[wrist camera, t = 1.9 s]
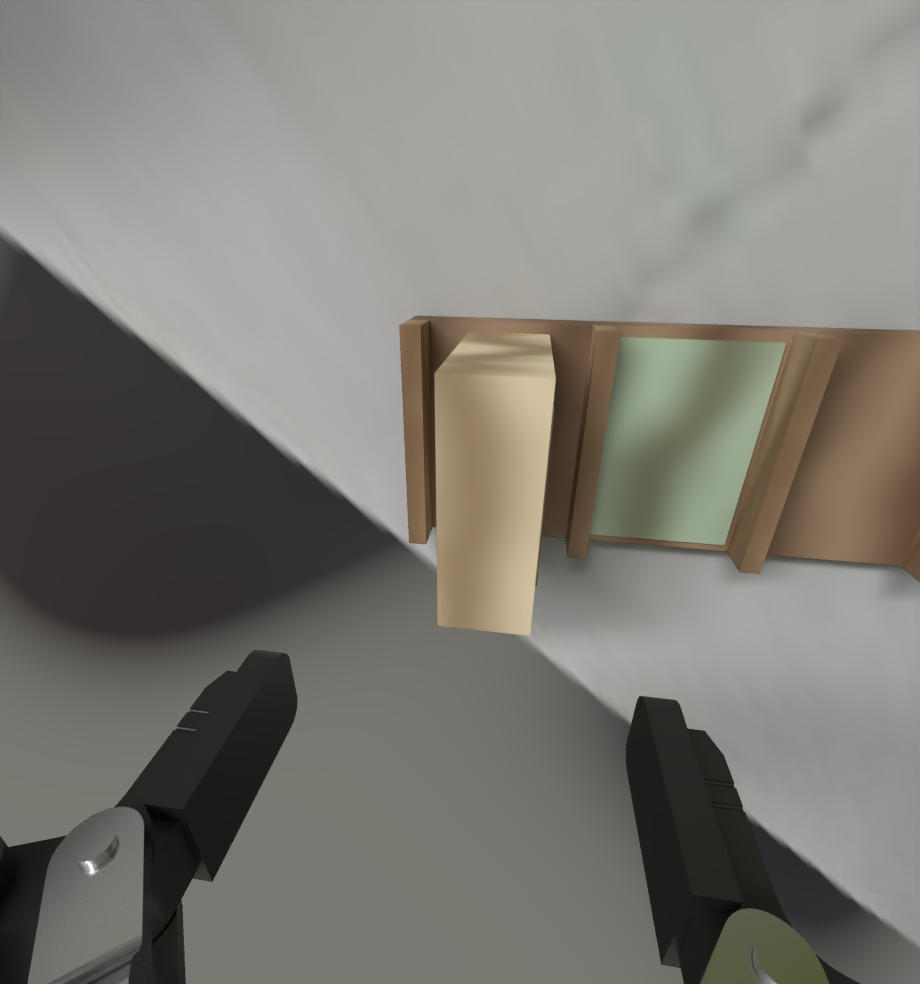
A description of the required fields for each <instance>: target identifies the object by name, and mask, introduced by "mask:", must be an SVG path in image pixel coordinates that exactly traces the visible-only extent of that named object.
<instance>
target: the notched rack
mask: <svg viewBox="0 0 920 984" xmlns="http://www.w3.org/2000/svg"><path fill="white" fill-rule="evenodd" d="M399 327H400V350H401V372H402V395H403V417H404V439H405V462H406V484H407V507H408V529H409V543H416V544H426V543H427V541H428V538H429V535H430V533H431V530H432V527H437V523H436V450H435V378H434V373H435V372H436V371H437V370H438V368H439V367H440V366H441V365H442V364H443V362H444V361H445V360H446V359H447V358H448V356H449V355H450V354H451V353H452V351H453V350H454V349H455V348H456V347H457V345H458V344H459V343H460V342H461V341H462V339H463V338H464V337H465V336H466V335H467V333H468V332H485V333H515V334H546V335H550V340H551V347H552V354H553V362H554V369H555V376H556V382H555V392H554V420H553V430H552V440H551V449H550V459H549V469H548V479H547V489H546V498H545V508H544V518H543V528H542V536H550V537H562V538H566V547H567V557H574V558H586V555H587V548H588V542H589V540H598V541H610V542H622V543H634V544H646V545H658V546H670V547H682V548H693V549H705V550H717V551H727V553H728V554H729V556H730V558H731V559H732V561H733V562H734V564H735V566H736V567H737V569H738V571H739V572H744V573H755V574H760V571H761V568H762V566H763V563H764V560H765V557H766V555H777V556H789V557H801V558H813V559H825V560H837V561H849V562H860V563H872V564H884V565H896V566H902V567H903V568H904V569H905V570H906V571H907V572H908V573H910V574H911V575H912V576H913V577H914V578H915V579H916V580H918V581H919V582H920V331H913V330H879V329H845V328H811V327H777V326H743V325H709V324H675V323H641V322H607V321H573V320H539V319H505V318H471V317H436V316H415V317H413V318H412V319H410V320H408V321H406V322H404V323H403V324H401V325H399Z"/></svg>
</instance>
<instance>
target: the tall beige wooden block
mask: <svg viewBox="0 0 920 984" xmlns="http://www.w3.org/2000/svg"><path fill="white" fill-rule="evenodd" d="M434 378H435V450H436V523H437V595H438V626H447V627H456V628H465V629H474V630H484V631H492V632H502V633H511V634H520V635H529V636H530V631H531V621H532V611H533V601H534V591H535V586H537V577H538V567H539V557H540V547H541V538H542V528H543V518H544V508H545V498H546V489H547V479H548V469H549V459H550V449H551V440H552V430H553V420H554V392H555V382H556V376H555V369H554V362H553V354H552V347H551V340H550V335H546V334H515V333H485V332H468V333H467V335H466V336H465V337H464V338H463V339H462V341H461V342H460V343H459V344H458V345H457V347H456V348H455V349H454V350H453V351H452V353H451V354H450V355H449V356H448V358H447V359H446V360H445V361H444V362H443V364H442V365H441V366H440V367H439V368H438V370H437V371H436V372H435V373H434Z"/></svg>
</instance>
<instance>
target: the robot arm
mask: <svg viewBox="0 0 920 984" xmlns="http://www.w3.org/2000/svg"><path fill="white" fill-rule="evenodd" d="M296 710H297V693H296V689H295V683H294V679H293V674H292V669H291V664H290V659H289V656H288V655H287V654H285V653H278V652H270V651H261V650H255V651H252V652H251V653H250V654H249V655H248V656H247V658H246V659H245V661H244V662H243V663H242V665H241V667H240V668H239V669H238V671H237V672H233V671H226V672H225V673H224V674H222V676H220V677H219V678H217V679H216V680H215V681H213V682H212V683H211V684H210V685H208V686H207V687H206V688H205V689H204V690H203V692H202V693H201V694H200V696H199V697H198V699H197V700H196V701H195V703H194V704H193V705H192V706H191V708H190V712H189V713H186V715H185V716H184V717H183V718H182V720H181V721H180V723H179V724H178V725H177V729H176V730H173V732H172V733H171V734H170V736H169V737H168V738H167V740H166V741H165V743H164V744H163V745H162V746H161V748H160V749H159V750H158V752H157V753H156V754H155V756H154V757H153V758H152V760H151V761H150V762H149V764H148V765H147V766H146V768H145V769H144V770H143V772H142V773H141V775H140V776H139V777H138V778H137V780H136V781H135V782H134V784H133V785H132V787H131V788H130V789H129V790H128V792H127V793H126V795H125V796H124V797H123V798H122V799H121V800H120V802H119V803H118V804H117V805H116V806H115V807H114V808H110V809H107V810H104V811H101V812H99V813H97V814H95V815H93V816H91V817H89V818H88V819H86V820H85V821H83V822H82V823H81V824H79V825H78V826H77V827H75V828H74V829H73V830H72V831H71V832H70V833H69V834H68V835H66V836H62V837H58V838H53V839H48V840H43V841H38V842H33V843H27V844H22V845H17V846H12V847H8V846H7V845H6V843H5V842H4V841H3V839H2V838H1V837H0V984H186V974H185V951H184V927H183V905H182V897H183V895H184V893H185V891H186V889H187V887H188V886H189V884H190V882H191V880H192V878H194V879H199V880H205V881H211V882H212V881H213V879H214V877H215V875H216V874H217V871H218V869H219V867H220V866H221V864H222V861H223V860H224V858H225V856H226V854H227V852H228V850H229V847H230V846H231V844H232V842H233V840H234V838H235V836H236V834H237V832H238V830H239V828H240V826H241V824H242V822H243V820H244V818H245V817H246V814H247V812H248V811H249V809H250V807H251V805H252V803H253V801H254V799H255V797H256V795H257V793H258V791H259V789H260V787H261V785H262V783H263V781H264V779H265V777H266V775H267V773H268V771H269V769H270V767H271V765H272V764H273V762H274V760H275V757H276V756H277V754H278V751H279V750H280V748H281V746H282V744H283V742H284V740H285V738H286V736H287V734H288V732H289V730H290V728H291V726H292V724H293V721H294V718H295V715H296ZM626 765H627V766H626V767H627V774H628V780H629V786H630V791H631V797H632V803H633V808H634V814H635V819H636V825H637V830H638V836H639V842H640V848H641V853H642V859H643V864H644V870H645V876H646V881H647V887H648V893H649V898H650V904H651V909H652V915H653V921H654V926H655V932H656V937H657V943H658V949H659V954H660V960H661V964H662V965H667V966H673V967H678V968H681V972H682V976H683V981H684V984H860V983H858V982H856V981H854V980H852V979H850V978H848V977H847V976H845V975H843V974H841V973H840V972H838V971H836V970H835V969H833V968H832V967H831V966H829V965H828V964H826V963H825V962H824V961H823V960H822V959H820V958H819V957H818V956H817V955H816V954H815V953H814V952H813V951H812V949H811V948H810V947H809V945H808V944H807V943H806V941H805V940H804V939H803V938H802V937H801V936H800V935H799V934H798V933H797V932H796V931H795V930H794V929H793V927H792V926H791V925H790V923H789V922H788V920H787V918H786V916H785V915H784V913H783V911H782V908H781V906H780V904H779V901H778V899H777V896H776V893H775V891H774V889H773V886H772V883H771V880H770V878H769V875H768V872H767V870H766V867H765V864H764V861H763V859H762V856H761V853H760V851H759V848H758V846H757V843H756V840H755V838H754V835H753V832H752V829H751V827H750V824H749V821H748V819H747V816H746V813H745V812H743V808H742V807H743V805H742V803H741V800H740V797H739V795H738V792H737V789H736V788H734V781H733V779H732V776H731V773H730V771H729V768H728V765H727V763H726V760H725V757H724V755H723V754H722V753H721V751H720V750H719V749H718V747H717V746H716V745H715V744H714V742H713V741H712V740H711V738H710V737H709V736H708V735H707V733H706V732H705V731H702V730H694V729H687V726H686V723H685V720H684V716H683V713H682V710H681V707H680V705H679V703H678V702H677V701H676V700H670V699H662V698H653V697H645V696H639V698H638V700H637V703H636V707H635V711H634V715H633V719H632V723H631V727H630V731H629V735H628V739H627V744H626Z"/></svg>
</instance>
